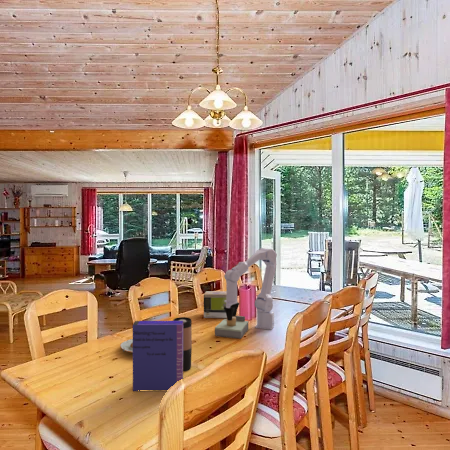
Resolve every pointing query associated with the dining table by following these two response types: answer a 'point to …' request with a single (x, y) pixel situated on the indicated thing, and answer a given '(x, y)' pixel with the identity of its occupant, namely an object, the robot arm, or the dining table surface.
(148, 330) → the purple book
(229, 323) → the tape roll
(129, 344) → the food on plate
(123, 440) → the dining table surface
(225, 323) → the lid
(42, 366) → the dining table surface
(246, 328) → the box
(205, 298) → the tea box
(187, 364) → the travel mug
